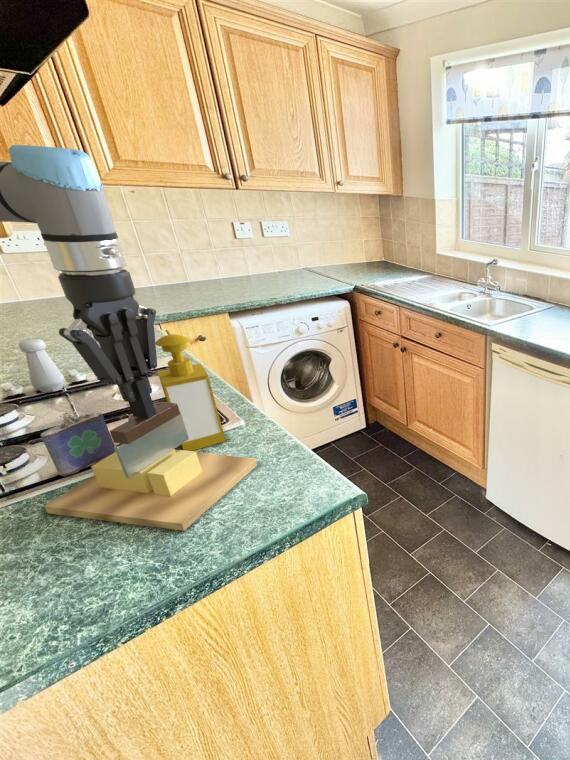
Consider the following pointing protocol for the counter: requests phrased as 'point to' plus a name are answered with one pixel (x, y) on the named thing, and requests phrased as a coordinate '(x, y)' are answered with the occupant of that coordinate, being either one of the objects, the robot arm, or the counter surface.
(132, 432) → the dough scraper
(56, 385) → the salt shaker
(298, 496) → the counter surface
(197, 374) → the soap bottle
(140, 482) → the butter block
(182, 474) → the butter pat
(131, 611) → the counter surface
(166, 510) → the butter board
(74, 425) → the flask
